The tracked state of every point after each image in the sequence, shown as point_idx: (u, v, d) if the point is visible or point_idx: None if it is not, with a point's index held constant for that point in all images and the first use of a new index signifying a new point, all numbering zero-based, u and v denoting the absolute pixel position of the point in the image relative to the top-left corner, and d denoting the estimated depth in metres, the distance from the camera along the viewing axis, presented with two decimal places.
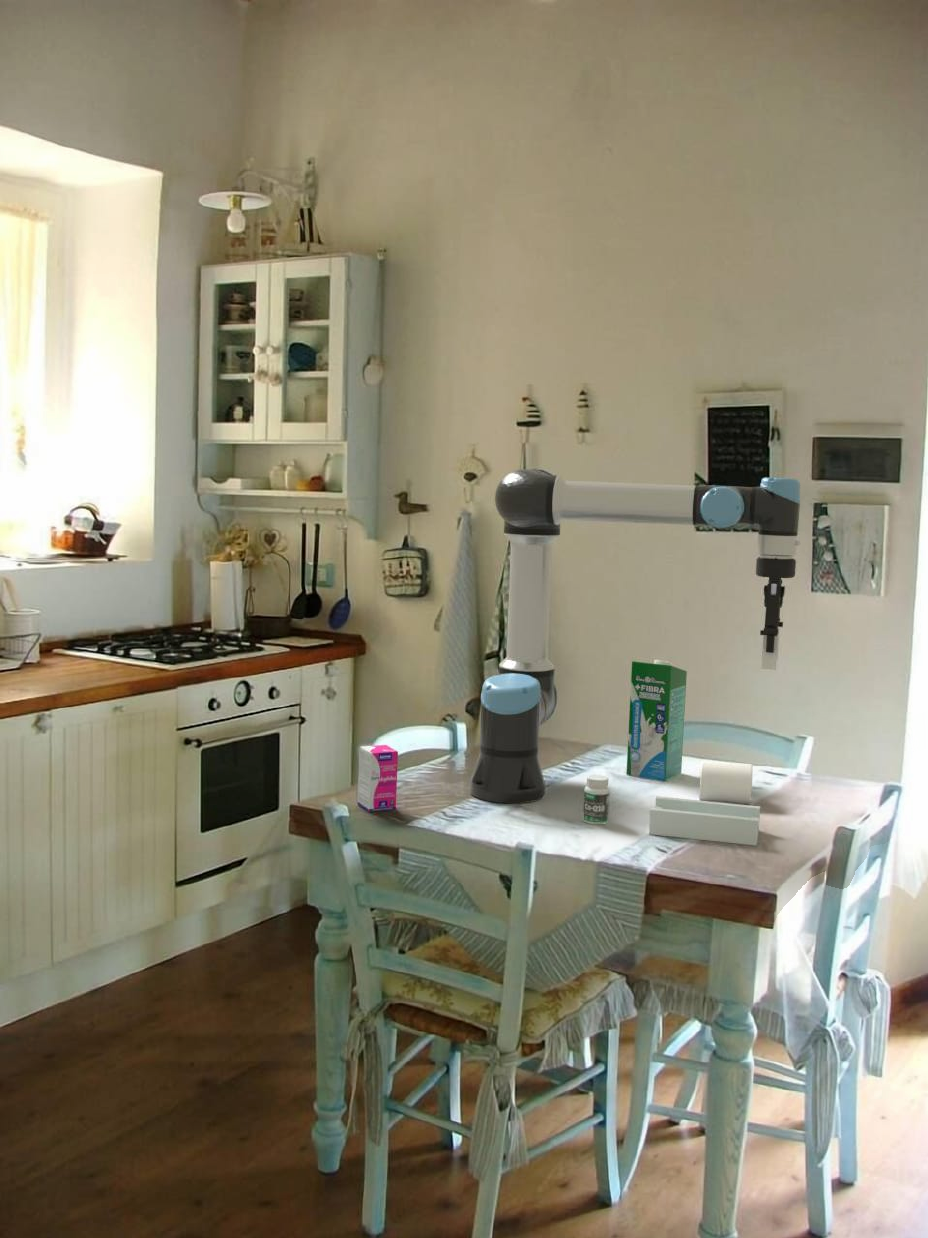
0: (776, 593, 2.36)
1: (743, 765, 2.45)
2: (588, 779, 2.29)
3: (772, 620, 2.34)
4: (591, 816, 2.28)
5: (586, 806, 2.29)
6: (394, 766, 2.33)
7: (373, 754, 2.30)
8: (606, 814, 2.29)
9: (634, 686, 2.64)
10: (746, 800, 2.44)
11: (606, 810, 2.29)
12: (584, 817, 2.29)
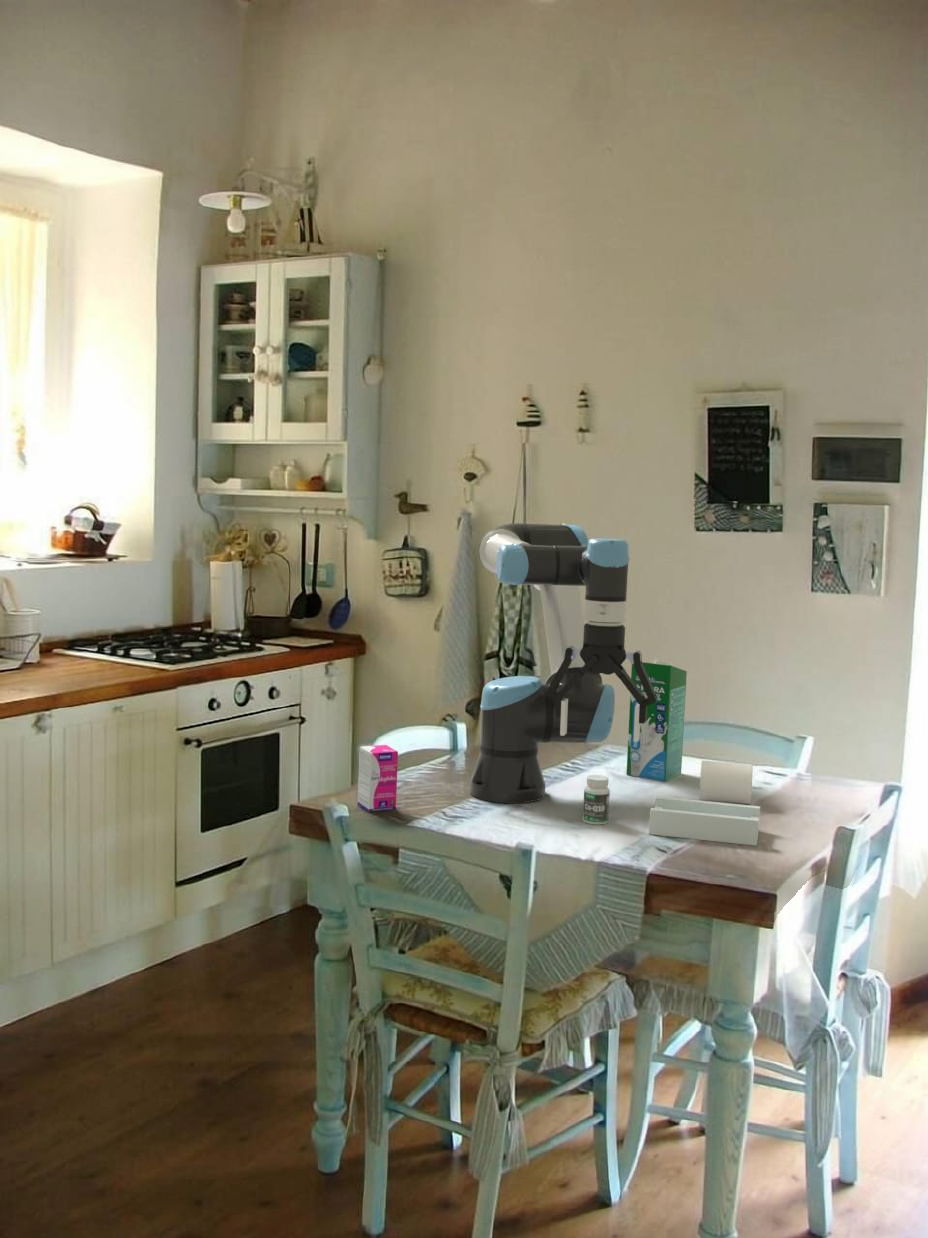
0: None
1: (743, 765, 2.45)
2: (588, 779, 2.29)
3: None
4: (591, 816, 2.28)
5: (586, 806, 2.29)
6: (394, 766, 2.33)
7: (373, 754, 2.30)
8: (606, 814, 2.29)
9: None
10: (746, 800, 2.44)
11: (606, 810, 2.29)
12: (584, 817, 2.29)
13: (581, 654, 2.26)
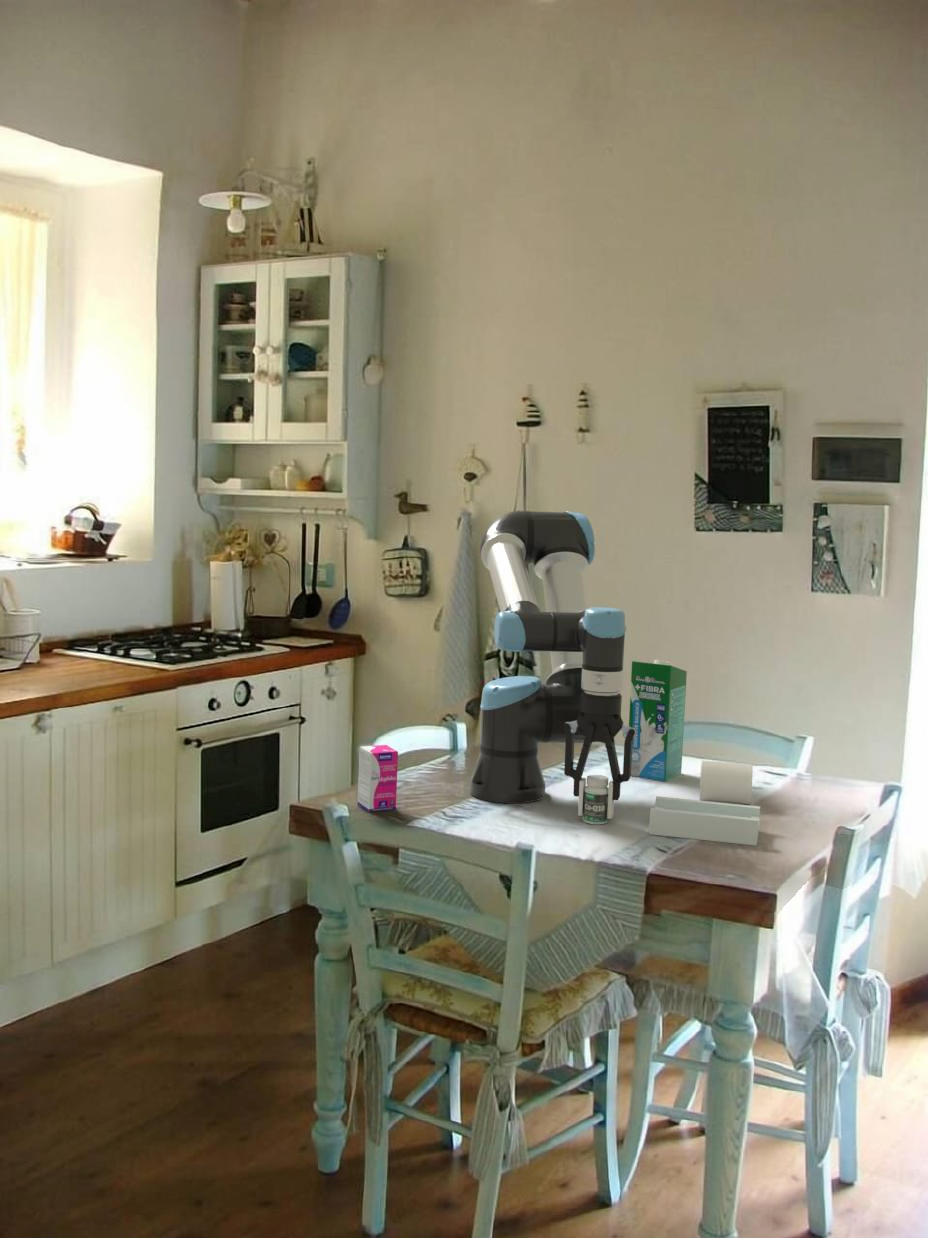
0: None
1: (743, 765, 2.45)
2: (588, 779, 2.29)
3: None
4: (591, 816, 2.28)
5: (586, 806, 2.29)
6: (394, 766, 2.33)
7: (373, 754, 2.30)
8: (606, 814, 2.29)
9: (634, 686, 2.64)
10: (746, 800, 2.44)
11: (606, 810, 2.29)
12: (584, 817, 2.29)
13: (579, 724, 2.28)
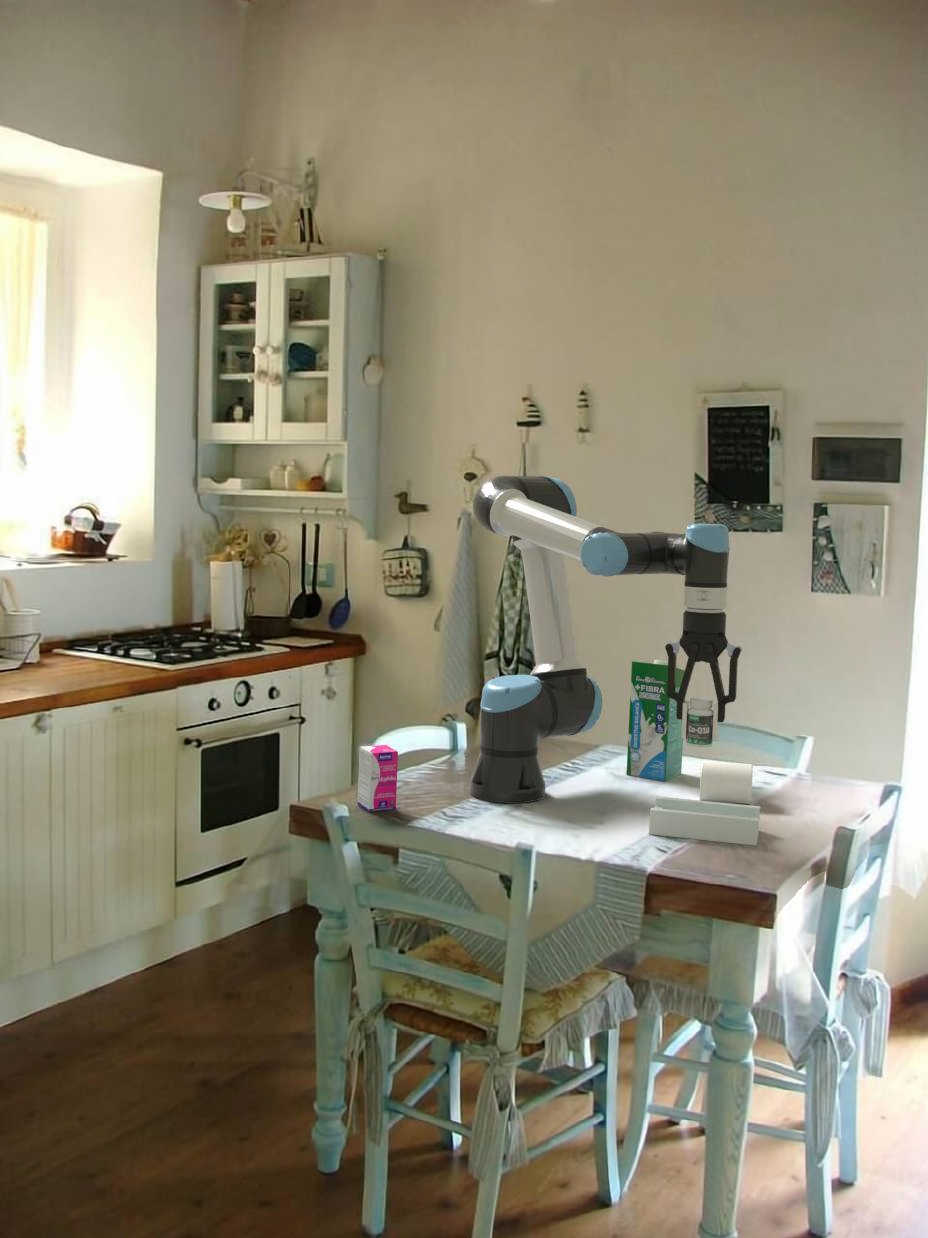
0: None
1: (743, 765, 2.45)
2: (692, 700, 2.22)
3: None
4: (696, 739, 2.21)
5: (690, 728, 2.22)
6: (394, 766, 2.33)
7: (373, 754, 2.30)
8: (711, 736, 2.22)
9: (634, 686, 2.64)
10: (746, 800, 2.44)
11: (711, 732, 2.22)
12: (688, 740, 2.22)
13: (681, 644, 2.22)
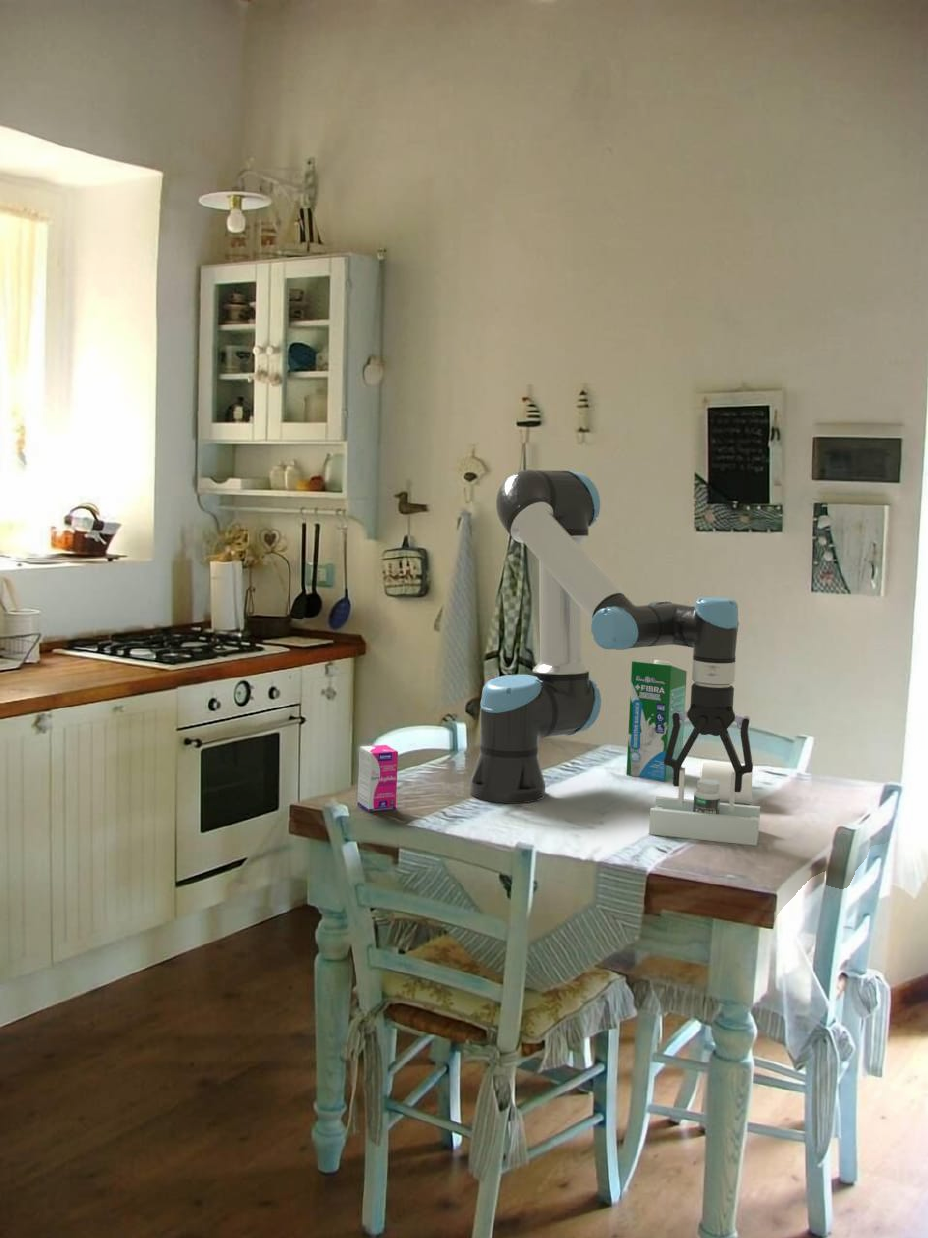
0: None
1: None
2: (699, 783, 2.24)
3: None
4: None
5: (697, 811, 2.24)
6: (394, 766, 2.33)
7: (373, 754, 2.30)
8: None
9: (634, 686, 2.64)
10: (746, 800, 2.44)
11: None
12: None
13: (689, 716, 2.23)
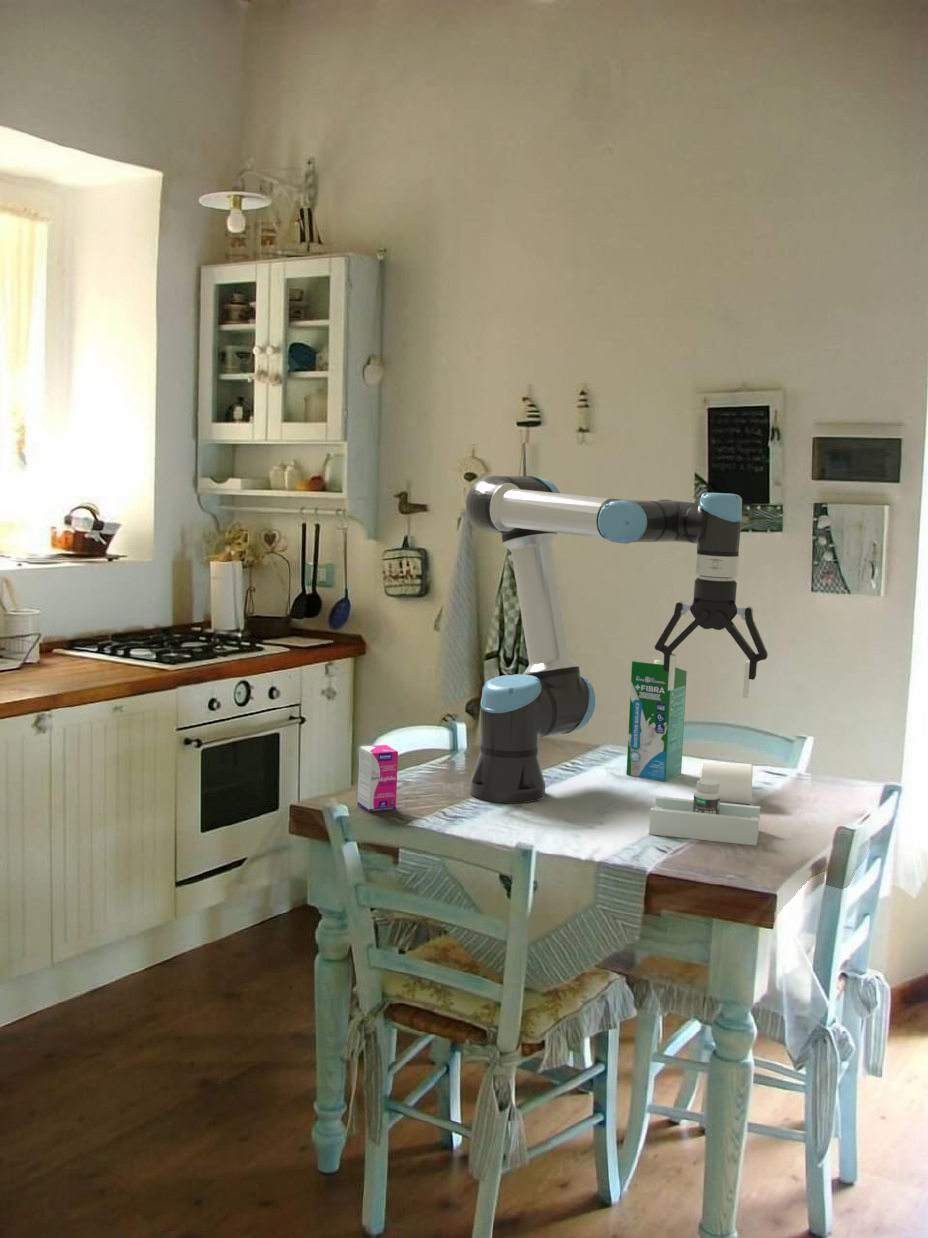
0: None
1: (743, 765, 2.45)
2: (698, 784, 2.24)
3: None
4: None
5: (697, 811, 2.24)
6: (394, 766, 2.33)
7: (373, 754, 2.30)
8: None
9: (634, 686, 2.64)
10: (746, 800, 2.44)
11: None
12: None
13: (691, 609, 2.26)
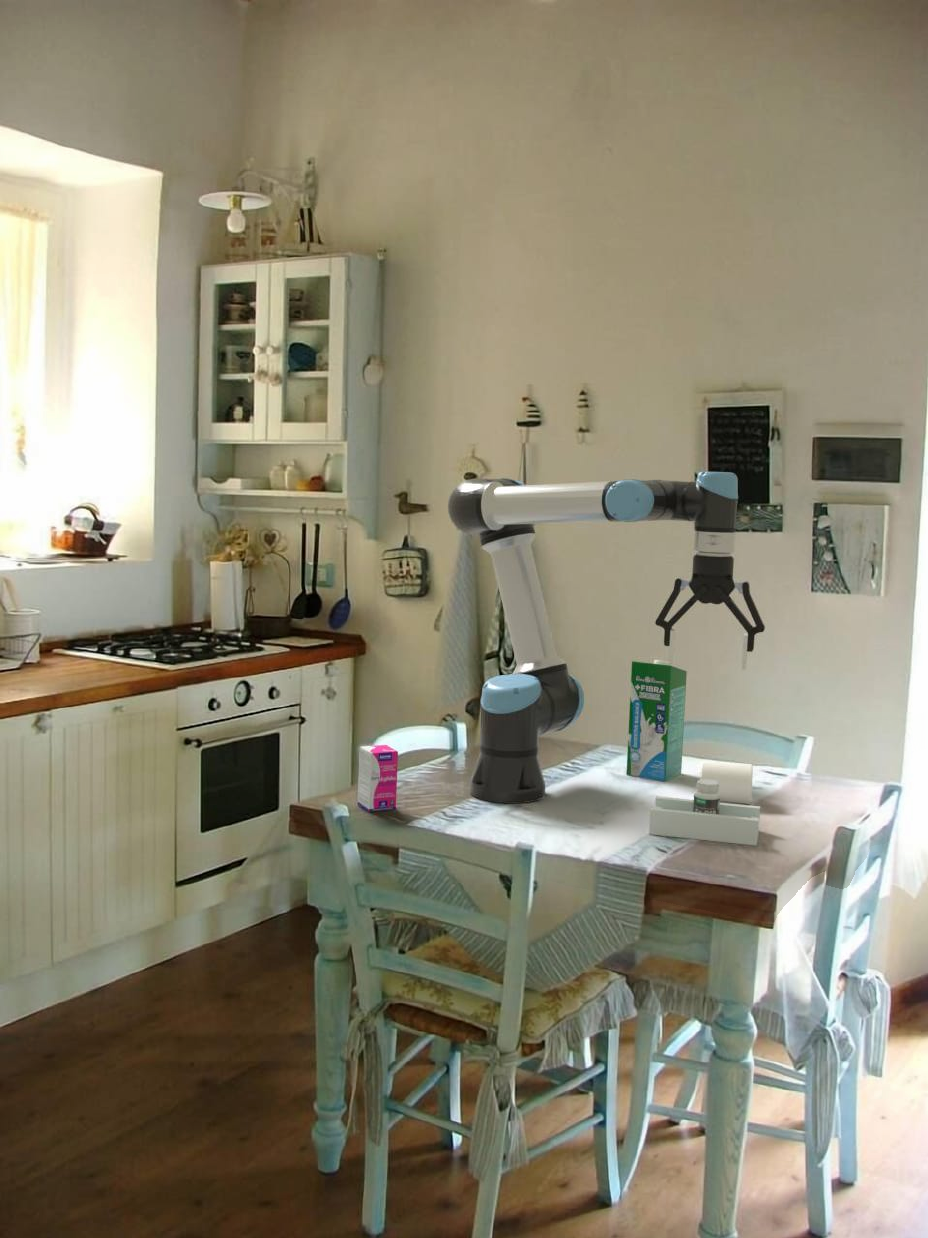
0: None
1: (743, 765, 2.45)
2: (698, 784, 2.24)
3: None
4: None
5: (697, 811, 2.24)
6: (394, 766, 2.33)
7: (373, 754, 2.30)
8: None
9: (634, 686, 2.64)
10: (746, 800, 2.44)
11: None
12: None
13: (690, 584, 2.33)
